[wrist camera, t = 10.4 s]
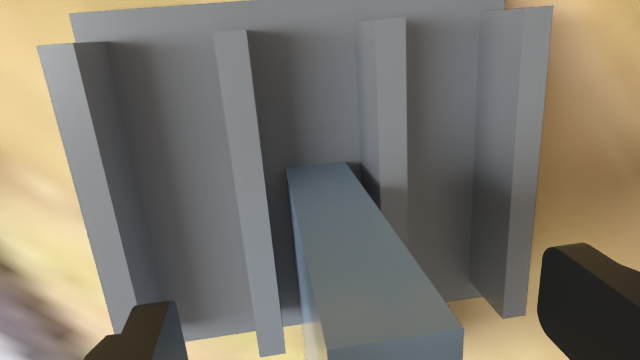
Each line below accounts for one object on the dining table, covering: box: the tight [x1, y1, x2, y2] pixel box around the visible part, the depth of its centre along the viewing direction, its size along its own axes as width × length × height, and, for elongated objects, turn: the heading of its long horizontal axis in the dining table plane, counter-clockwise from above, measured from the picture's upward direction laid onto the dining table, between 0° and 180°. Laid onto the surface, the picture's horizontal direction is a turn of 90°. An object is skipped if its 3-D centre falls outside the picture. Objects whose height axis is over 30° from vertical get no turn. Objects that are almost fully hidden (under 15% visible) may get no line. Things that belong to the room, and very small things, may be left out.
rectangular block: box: [285, 162, 464, 360], centre depth 15 cm, size 10×2×11 cm, turn 4°
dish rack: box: [37, 0, 553, 357], centre depth 18 cm, size 14×16×4 cm
